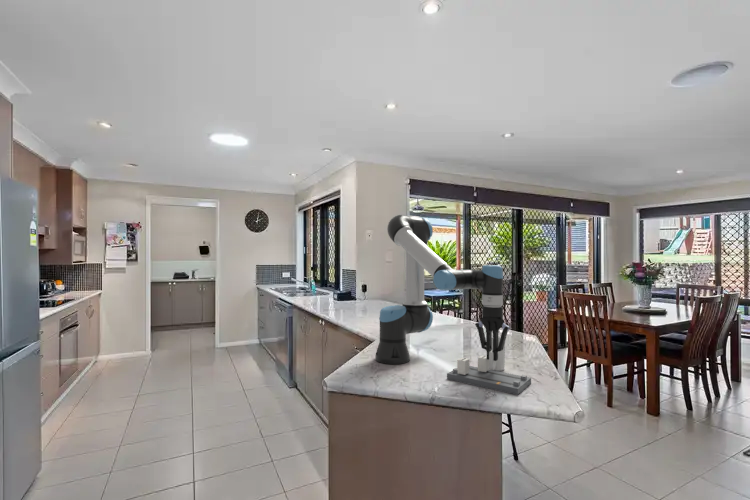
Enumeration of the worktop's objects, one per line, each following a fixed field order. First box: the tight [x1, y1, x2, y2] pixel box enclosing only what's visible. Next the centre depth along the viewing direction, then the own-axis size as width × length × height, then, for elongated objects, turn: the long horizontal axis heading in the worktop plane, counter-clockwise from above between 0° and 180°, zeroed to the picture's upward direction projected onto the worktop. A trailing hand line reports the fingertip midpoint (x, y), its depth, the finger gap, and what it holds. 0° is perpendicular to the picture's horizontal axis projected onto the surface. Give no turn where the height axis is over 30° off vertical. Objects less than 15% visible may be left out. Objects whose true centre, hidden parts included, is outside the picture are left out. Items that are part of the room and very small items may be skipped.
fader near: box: [456, 357, 471, 375], centre depth 140 cm, size 3×4×5 cm
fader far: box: [477, 355, 490, 372], centre depth 144 cm, size 3×4×5 cm
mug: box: [491, 337, 506, 372], centre depth 156 cm, size 10×7×12 cm, turn 162°
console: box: [446, 365, 532, 396], centre depth 138 cm, size 26×15×3 cm, turn 52°
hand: (492, 368), depth 142 cm, fingers closed
